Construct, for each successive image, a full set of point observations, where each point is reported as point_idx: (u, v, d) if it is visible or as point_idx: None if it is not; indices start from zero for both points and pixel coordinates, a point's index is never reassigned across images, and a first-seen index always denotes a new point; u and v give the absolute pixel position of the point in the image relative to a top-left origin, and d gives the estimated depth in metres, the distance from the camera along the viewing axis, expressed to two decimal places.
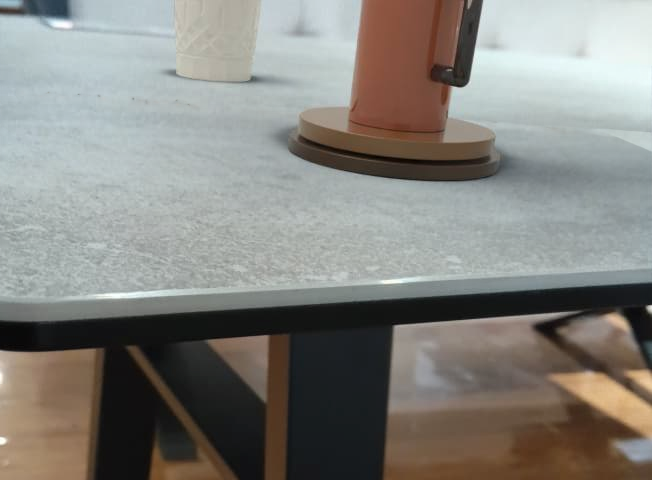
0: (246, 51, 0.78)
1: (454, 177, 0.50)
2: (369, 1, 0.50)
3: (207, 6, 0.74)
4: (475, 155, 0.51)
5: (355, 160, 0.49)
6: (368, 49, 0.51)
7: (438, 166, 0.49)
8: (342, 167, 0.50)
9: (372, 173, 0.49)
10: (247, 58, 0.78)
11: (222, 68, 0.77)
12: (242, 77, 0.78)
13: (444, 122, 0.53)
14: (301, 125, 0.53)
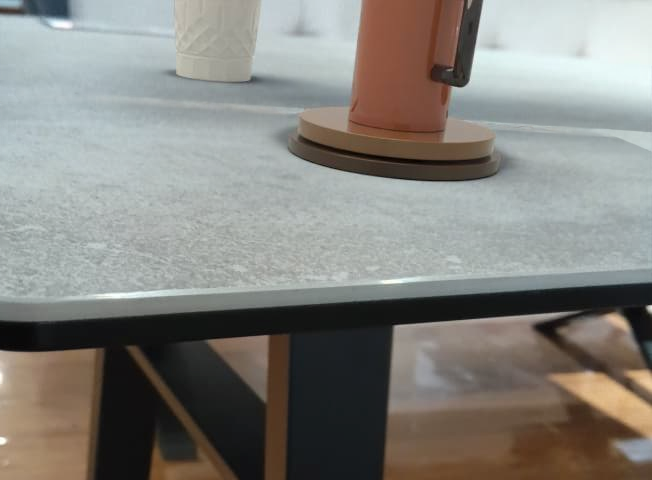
0: (246, 51, 0.78)
1: (454, 177, 0.50)
2: (369, 1, 0.50)
3: (207, 6, 0.74)
4: (475, 155, 0.51)
5: (355, 160, 0.49)
6: (368, 49, 0.51)
7: (438, 166, 0.49)
8: (342, 167, 0.50)
9: (372, 173, 0.49)
10: (247, 58, 0.78)
11: (222, 68, 0.77)
12: (242, 77, 0.78)
13: (444, 122, 0.53)
14: (301, 125, 0.53)
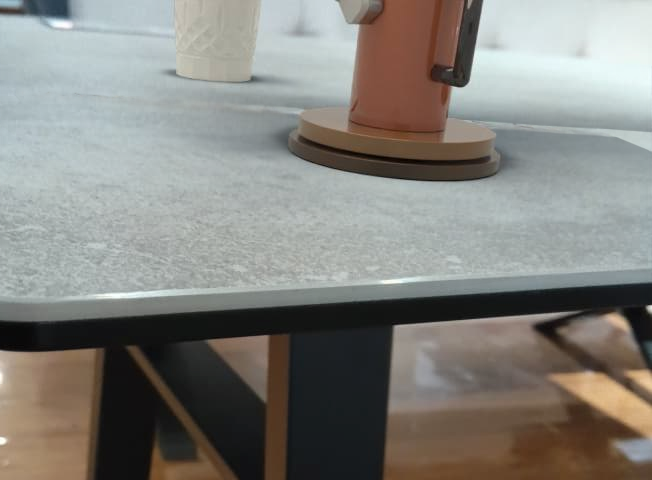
0: (246, 51, 0.78)
1: (454, 177, 0.50)
2: None
3: (207, 6, 0.74)
4: (475, 155, 0.51)
5: (355, 160, 0.49)
6: (368, 49, 0.51)
7: (438, 166, 0.49)
8: (342, 167, 0.50)
9: (372, 173, 0.49)
10: (247, 58, 0.78)
11: (222, 68, 0.77)
12: (242, 77, 0.78)
13: (444, 122, 0.53)
14: (301, 125, 0.53)
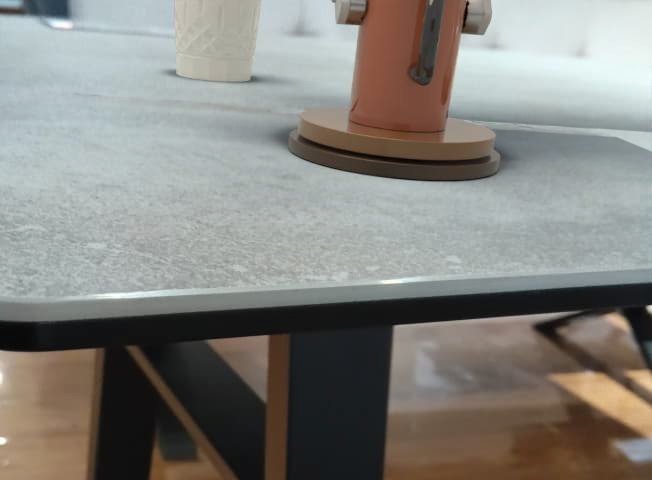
0: (246, 51, 0.78)
1: (454, 177, 0.50)
2: None
3: (207, 6, 0.74)
4: (439, 156, 0.49)
5: (355, 160, 0.49)
6: (357, 46, 0.52)
7: (438, 166, 0.49)
8: (342, 167, 0.50)
9: (372, 173, 0.49)
10: (247, 58, 0.78)
11: (222, 68, 0.77)
12: (242, 77, 0.78)
13: (432, 123, 0.52)
14: None
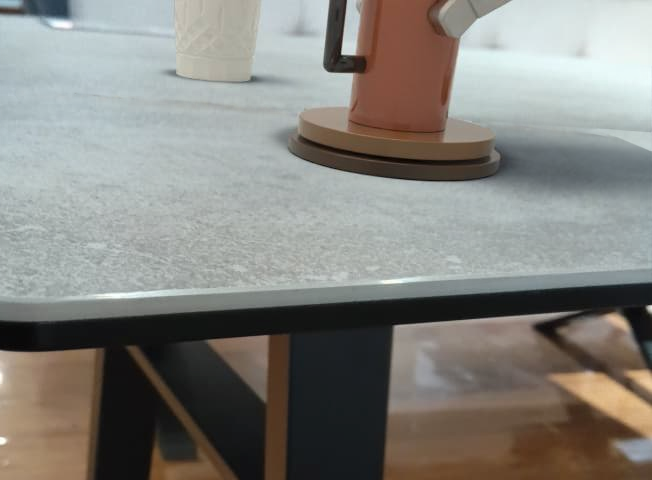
0: (246, 51, 0.78)
1: (454, 177, 0.50)
2: None
3: (207, 6, 0.74)
4: (322, 140, 0.51)
5: (355, 160, 0.49)
6: None
7: (438, 166, 0.49)
8: (342, 167, 0.50)
9: (372, 173, 0.49)
10: (247, 58, 0.78)
11: (222, 68, 0.77)
12: (242, 77, 0.78)
13: (374, 119, 0.52)
14: None
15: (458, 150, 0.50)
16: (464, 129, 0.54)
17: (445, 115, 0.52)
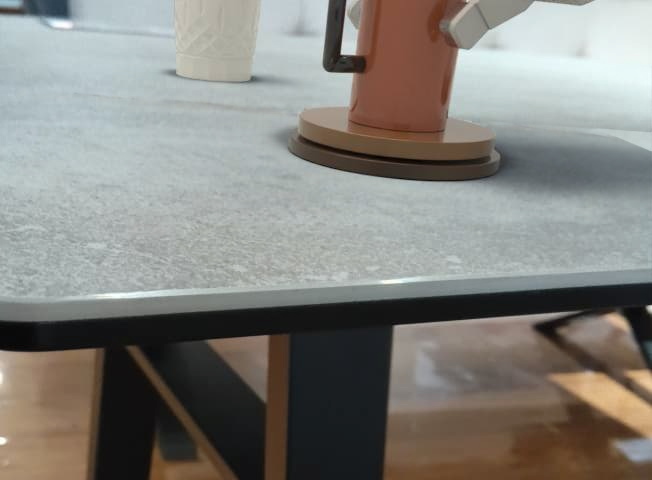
0: (246, 51, 0.78)
1: (454, 177, 0.50)
2: None
3: (207, 6, 0.74)
4: (321, 140, 0.51)
5: (355, 160, 0.49)
6: None
7: (438, 166, 0.49)
8: (342, 167, 0.50)
9: (372, 173, 0.49)
10: (247, 58, 0.78)
11: (222, 68, 0.77)
12: (242, 77, 0.78)
13: (374, 119, 0.52)
14: None
15: (457, 150, 0.50)
16: (464, 129, 0.54)
17: (445, 115, 0.52)
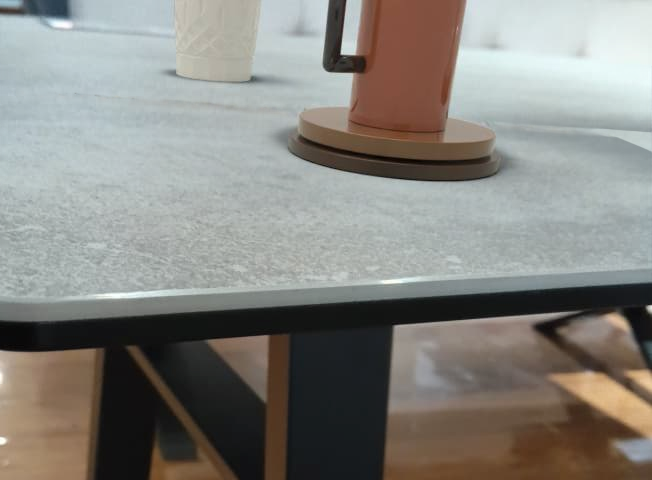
0: (246, 51, 0.78)
1: (454, 177, 0.50)
2: None
3: (207, 6, 0.74)
4: (321, 140, 0.51)
5: (355, 160, 0.49)
6: None
7: (438, 166, 0.49)
8: (342, 167, 0.50)
9: (372, 173, 0.49)
10: (247, 58, 0.78)
11: (222, 68, 0.77)
12: (242, 77, 0.78)
13: (374, 119, 0.52)
14: None
15: (457, 150, 0.50)
16: (464, 129, 0.54)
17: (445, 115, 0.52)
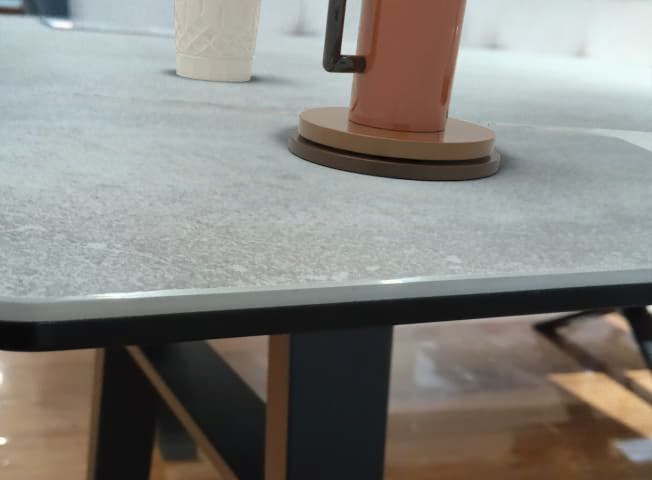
0: (246, 51, 0.78)
1: (454, 177, 0.50)
2: None
3: (207, 6, 0.74)
4: (321, 140, 0.51)
5: (355, 160, 0.49)
6: None
7: (438, 166, 0.49)
8: (342, 167, 0.50)
9: (372, 173, 0.49)
10: (247, 58, 0.78)
11: (222, 68, 0.77)
12: (242, 77, 0.78)
13: (374, 119, 0.52)
14: None
15: (457, 150, 0.50)
16: (464, 129, 0.54)
17: (445, 115, 0.52)
